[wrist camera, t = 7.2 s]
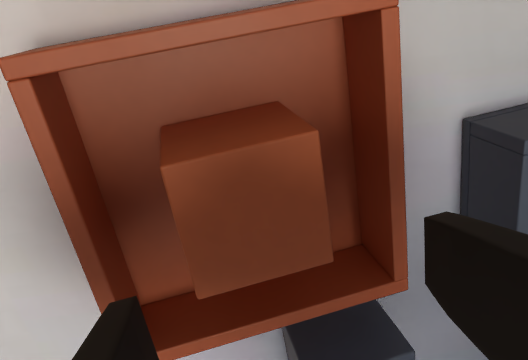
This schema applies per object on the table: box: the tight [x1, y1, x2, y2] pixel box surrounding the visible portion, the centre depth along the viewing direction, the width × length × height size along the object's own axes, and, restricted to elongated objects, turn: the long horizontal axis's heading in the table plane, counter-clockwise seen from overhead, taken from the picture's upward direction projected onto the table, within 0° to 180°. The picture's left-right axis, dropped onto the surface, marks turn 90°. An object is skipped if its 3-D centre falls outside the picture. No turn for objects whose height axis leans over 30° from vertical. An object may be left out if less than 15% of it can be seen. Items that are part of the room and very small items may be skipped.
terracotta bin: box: [0, 0, 408, 360], centre depth 15 cm, size 11×11×4 cm
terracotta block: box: [160, 101, 334, 299], centre depth 14 cm, size 4×4×4 cm
